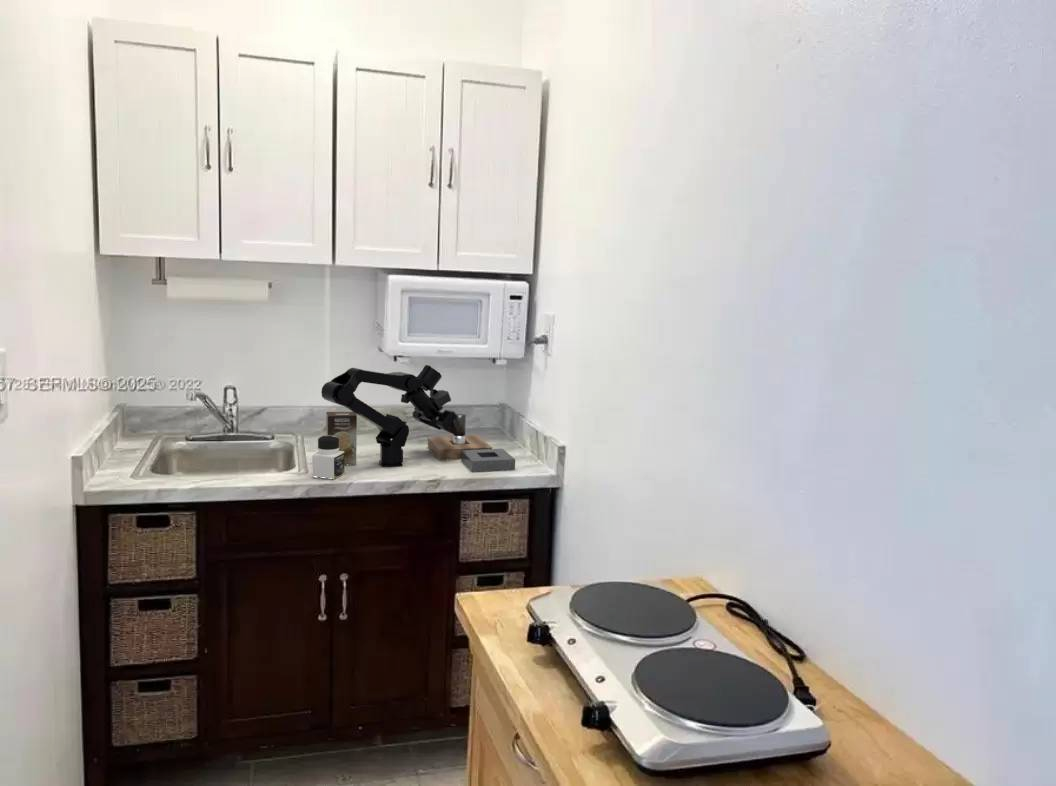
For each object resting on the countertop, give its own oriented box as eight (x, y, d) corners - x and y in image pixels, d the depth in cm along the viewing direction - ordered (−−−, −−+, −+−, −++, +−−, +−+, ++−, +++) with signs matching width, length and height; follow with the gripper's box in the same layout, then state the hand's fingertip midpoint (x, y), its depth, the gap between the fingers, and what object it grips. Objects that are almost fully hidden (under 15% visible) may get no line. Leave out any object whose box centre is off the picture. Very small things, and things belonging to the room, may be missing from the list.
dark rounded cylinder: (459, 454, 268) (460, 416, 266) (450, 452, 271) (451, 414, 269) (467, 452, 272) (468, 414, 269) (458, 450, 274) (459, 413, 272)
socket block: (472, 472, 247) (472, 461, 247) (461, 460, 260) (461, 450, 260) (514, 469, 252) (515, 459, 251) (502, 458, 265) (502, 448, 264)
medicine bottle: (334, 480, 233) (334, 440, 231) (312, 478, 235) (311, 438, 232) (344, 473, 240) (344, 435, 238) (322, 471, 241) (322, 433, 239)
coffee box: (326, 466, 248) (326, 415, 245) (325, 461, 254) (325, 411, 251) (356, 465, 250) (357, 415, 248) (354, 459, 256) (354, 411, 254)
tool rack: (438, 460, 260) (439, 449, 259) (427, 447, 277) (427, 437, 276) (491, 457, 266) (492, 447, 265) (477, 445, 282) (478, 435, 282)
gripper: (453, 387, 254) (479, 418, 263) (421, 379, 268) (447, 408, 277) (431, 413, 250) (459, 444, 259) (400, 403, 264) (427, 433, 273)
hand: (448, 431), depth 267 cm, fingers open, 9 cm apart
